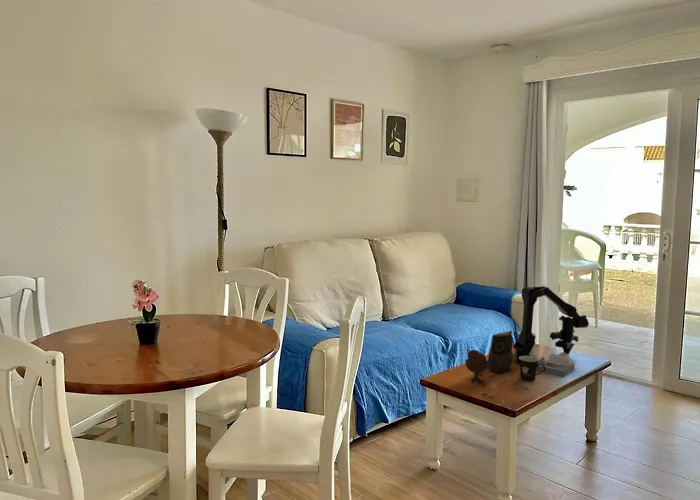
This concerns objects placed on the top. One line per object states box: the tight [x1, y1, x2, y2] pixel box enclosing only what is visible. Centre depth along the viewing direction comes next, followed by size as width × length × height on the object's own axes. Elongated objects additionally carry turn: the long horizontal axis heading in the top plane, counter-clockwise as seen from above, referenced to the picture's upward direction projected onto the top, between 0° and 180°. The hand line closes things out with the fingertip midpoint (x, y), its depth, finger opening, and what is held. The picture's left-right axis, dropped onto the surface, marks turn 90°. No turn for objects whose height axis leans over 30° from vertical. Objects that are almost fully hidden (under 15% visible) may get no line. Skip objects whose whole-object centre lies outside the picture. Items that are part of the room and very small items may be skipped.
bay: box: [536, 356, 576, 378], centre depth 257 cm, size 15×16×3 cm
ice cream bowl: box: [464, 349, 489, 383], centre depth 240 cm, size 11×11×15 cm
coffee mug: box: [518, 356, 546, 382], centre depth 242 cm, size 12×9×10 cm
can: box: [517, 331, 536, 357], centre depth 281 cm, size 9×9×12 cm
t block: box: [548, 351, 573, 368], centre depth 267 cm, size 10×10×4 cm
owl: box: [487, 330, 514, 375], centre depth 254 cm, size 13×13×20 cm
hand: (566, 356), depth 272 cm, fingers closed
